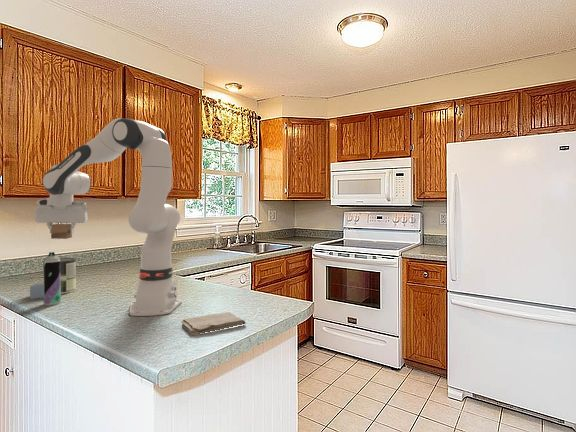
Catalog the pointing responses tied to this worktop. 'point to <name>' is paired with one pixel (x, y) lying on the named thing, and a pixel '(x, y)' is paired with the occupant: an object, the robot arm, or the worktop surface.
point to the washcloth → (211, 322)
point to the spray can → (52, 280)
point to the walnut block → (60, 231)
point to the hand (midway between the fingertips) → (61, 233)
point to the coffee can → (68, 275)
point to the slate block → (37, 290)
